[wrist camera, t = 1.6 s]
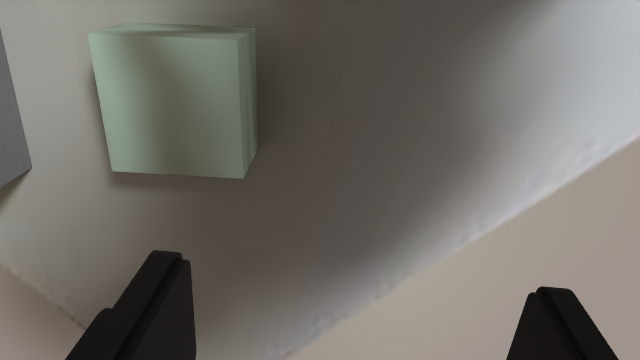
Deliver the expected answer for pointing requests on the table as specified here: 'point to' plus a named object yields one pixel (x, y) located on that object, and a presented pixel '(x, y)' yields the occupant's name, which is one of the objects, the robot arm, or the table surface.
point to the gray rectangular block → (10, 128)
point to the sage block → (178, 98)
